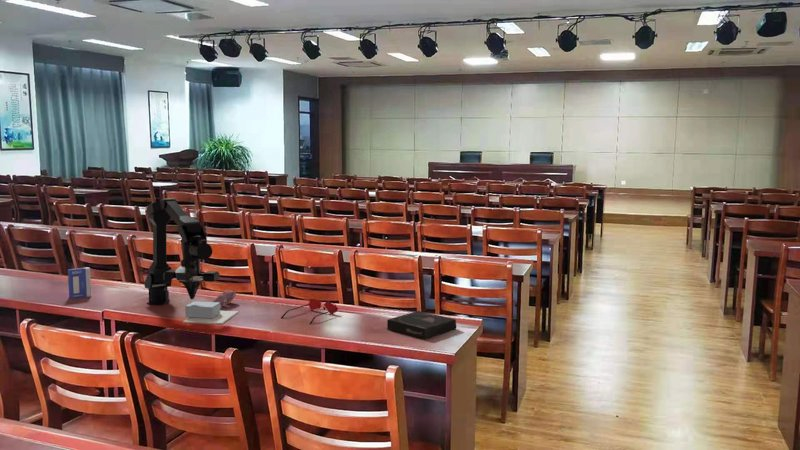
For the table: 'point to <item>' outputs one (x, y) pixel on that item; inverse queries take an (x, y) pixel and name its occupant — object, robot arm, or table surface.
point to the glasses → (317, 304)
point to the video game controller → (225, 297)
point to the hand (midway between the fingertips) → (192, 299)
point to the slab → (202, 309)
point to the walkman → (79, 282)
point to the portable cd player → (421, 325)
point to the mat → (217, 319)
